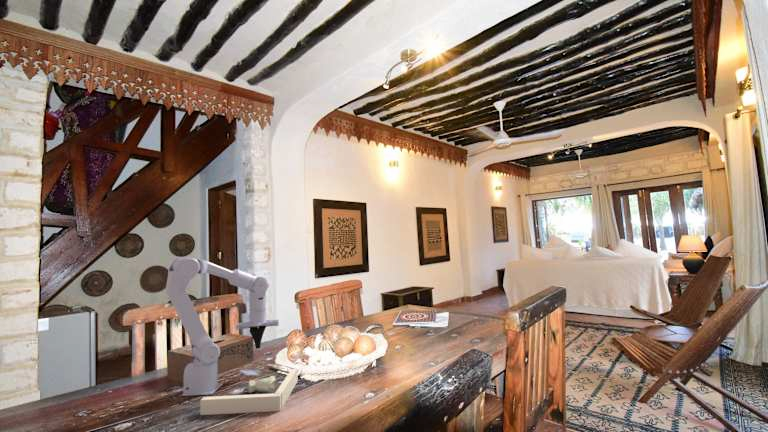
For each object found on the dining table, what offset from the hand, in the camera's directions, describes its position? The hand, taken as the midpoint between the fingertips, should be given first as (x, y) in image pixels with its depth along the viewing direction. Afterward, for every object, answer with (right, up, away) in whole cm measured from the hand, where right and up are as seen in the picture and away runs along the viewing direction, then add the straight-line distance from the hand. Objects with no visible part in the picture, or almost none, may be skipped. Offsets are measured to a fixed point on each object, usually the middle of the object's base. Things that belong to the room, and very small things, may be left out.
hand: (258, 347), depth 124 cm
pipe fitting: (+7, -8, -16) cm, 19 cm away
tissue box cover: (-20, -11, +7) cm, 24 cm away
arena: (+6, -8, -19) cm, 21 cm away
